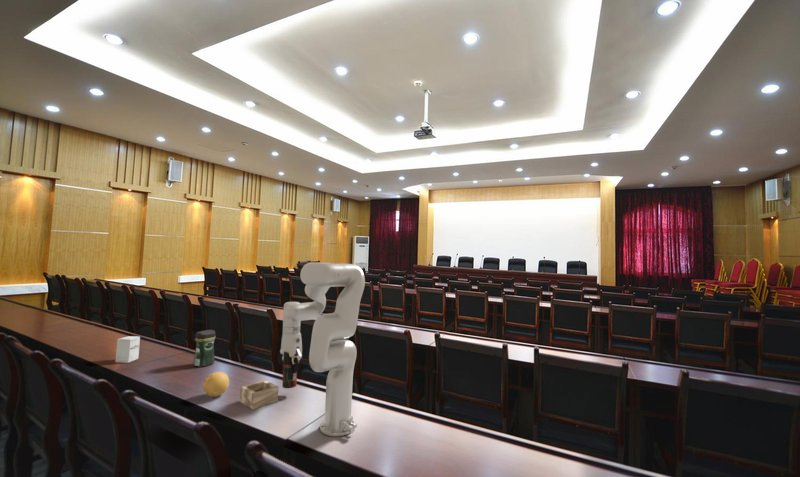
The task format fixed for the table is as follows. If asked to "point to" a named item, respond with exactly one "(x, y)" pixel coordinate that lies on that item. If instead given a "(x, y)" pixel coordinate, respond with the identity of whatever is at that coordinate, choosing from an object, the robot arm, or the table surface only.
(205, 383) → the stress ball
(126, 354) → the supplement box
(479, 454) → the table surface
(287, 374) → the deodorant
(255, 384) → the wooden box
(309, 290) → the robot arm
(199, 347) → the coffee jar
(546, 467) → the table surface
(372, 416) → the table surface
